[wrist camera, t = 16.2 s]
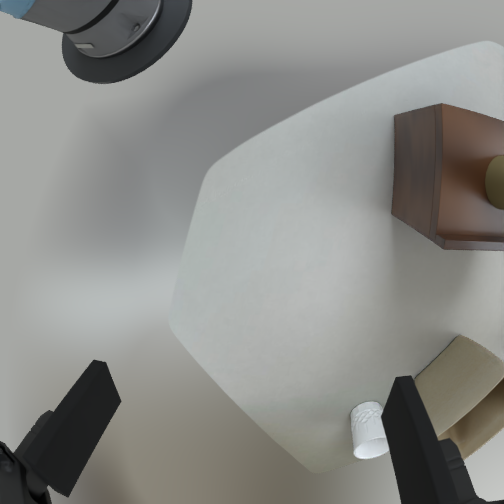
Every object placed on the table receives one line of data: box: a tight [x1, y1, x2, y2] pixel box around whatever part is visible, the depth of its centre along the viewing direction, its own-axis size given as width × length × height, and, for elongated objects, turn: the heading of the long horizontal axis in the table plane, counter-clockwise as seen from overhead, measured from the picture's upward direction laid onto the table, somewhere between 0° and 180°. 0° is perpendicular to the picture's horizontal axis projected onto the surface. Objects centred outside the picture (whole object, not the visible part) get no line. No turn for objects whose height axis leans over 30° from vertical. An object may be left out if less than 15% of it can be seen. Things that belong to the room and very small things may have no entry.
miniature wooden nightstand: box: [392, 103, 504, 251], centre depth 28 cm, size 14×18×16 cm
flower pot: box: [415, 335, 504, 460], centre depth 38 cm, size 19×19×17 cm
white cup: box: [350, 401, 389, 459], centre depth 46 cm, size 8×8×10 cm
